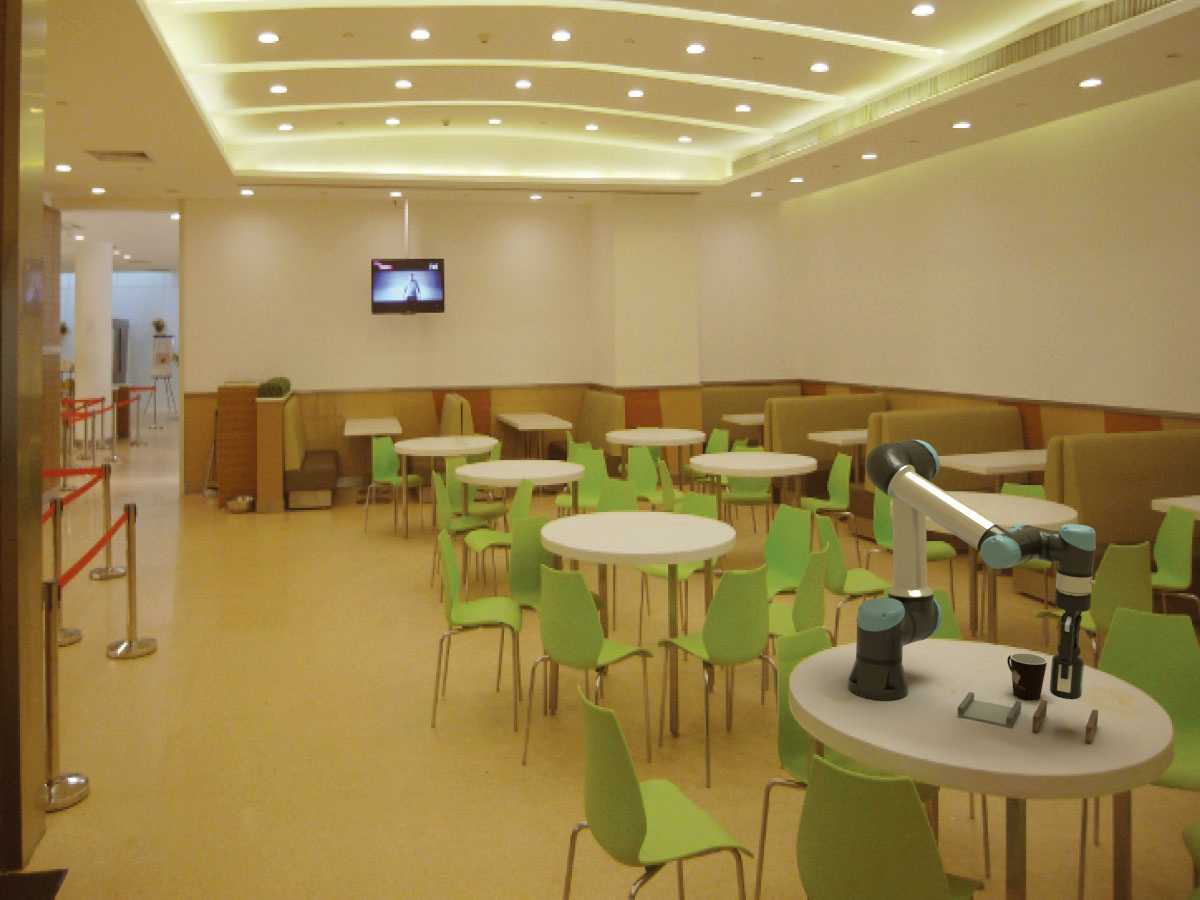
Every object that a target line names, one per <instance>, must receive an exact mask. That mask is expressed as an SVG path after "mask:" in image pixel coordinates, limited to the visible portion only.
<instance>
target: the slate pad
mask: <svg viewBox="0 0 1200 900" xmlns="http://www.w3.org/2000/svg"><path fill="white" fill-rule="evenodd" d="M1021 710H1022V701H1018V700H1016V701H1015V702H1014V704H1013V706H1007V705H1002V704H998V703H991V702H987V701H983V700H982V701H981V700H977V699H975V693H974V692H971V691H968V693H967V694H966V695H965V697H964V698H963V700H962V701H961V702H960V704H959V705H958V707H957V716H958V718H963V719H968V720H972V721H977V722H981V723H987V724H991V725H995V726H1000V727H1006V728H1010V729H1011V727H1012V726H1013V724H1014V723H1015V721H1016V719H1017V717H1018V715H1019V714H1020V712H1021Z"/></svg>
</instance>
